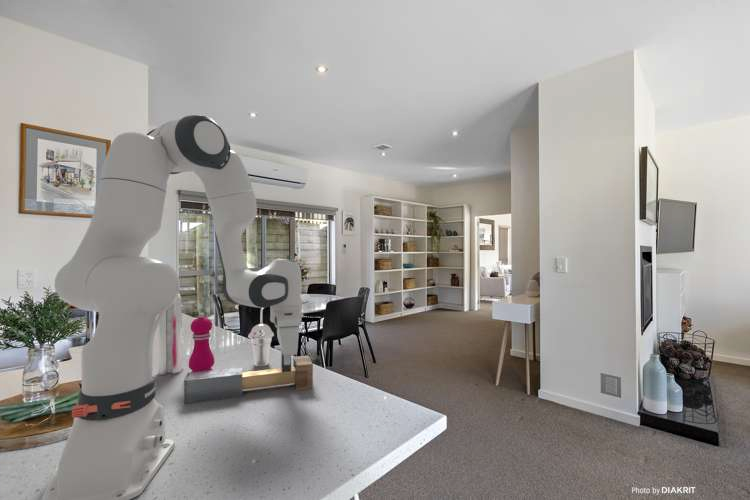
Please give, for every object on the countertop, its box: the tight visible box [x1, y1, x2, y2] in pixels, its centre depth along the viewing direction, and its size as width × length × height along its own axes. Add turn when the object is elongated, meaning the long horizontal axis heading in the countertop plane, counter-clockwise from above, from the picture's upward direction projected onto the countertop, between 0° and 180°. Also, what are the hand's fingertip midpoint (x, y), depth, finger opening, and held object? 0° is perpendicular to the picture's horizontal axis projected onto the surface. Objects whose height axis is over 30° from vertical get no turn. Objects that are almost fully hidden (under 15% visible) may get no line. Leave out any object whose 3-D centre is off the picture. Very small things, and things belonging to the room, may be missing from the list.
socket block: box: [292, 355, 314, 391], centre depth 104 cm, size 8×4×7 cm, turn 20°
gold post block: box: [242, 349, 296, 391], centre depth 100 cm, size 4×20×10 cm, turn 110°
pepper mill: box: [188, 312, 215, 372], centre depth 109 cm, size 7×7×20 cm
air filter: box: [157, 293, 183, 376], centre depth 113 cm, size 6×6×25 cm
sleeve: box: [183, 366, 243, 405], centre depth 96 cm, size 6×14×6 cm, turn 110°
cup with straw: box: [247, 308, 275, 367], centre depth 121 cm, size 8×9×20 cm
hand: (286, 361), depth 102 cm, fingers closed on gold post block, 3 cm apart
